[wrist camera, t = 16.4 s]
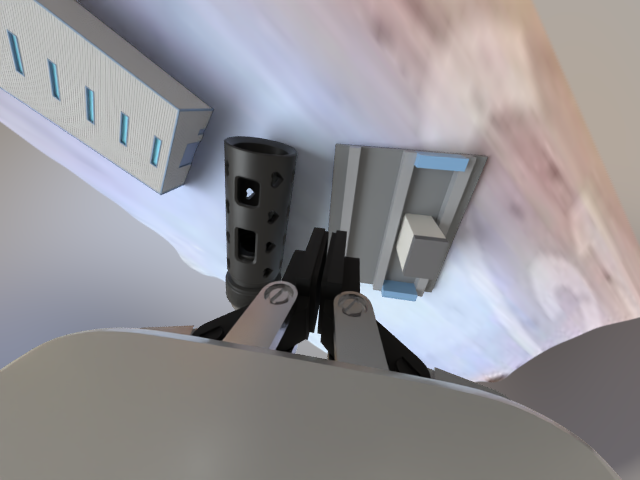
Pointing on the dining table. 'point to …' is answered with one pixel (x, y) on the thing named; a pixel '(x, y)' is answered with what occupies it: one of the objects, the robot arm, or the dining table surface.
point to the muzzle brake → (256, 213)
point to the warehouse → (100, 90)
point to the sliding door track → (396, 206)
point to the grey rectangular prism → (420, 246)
